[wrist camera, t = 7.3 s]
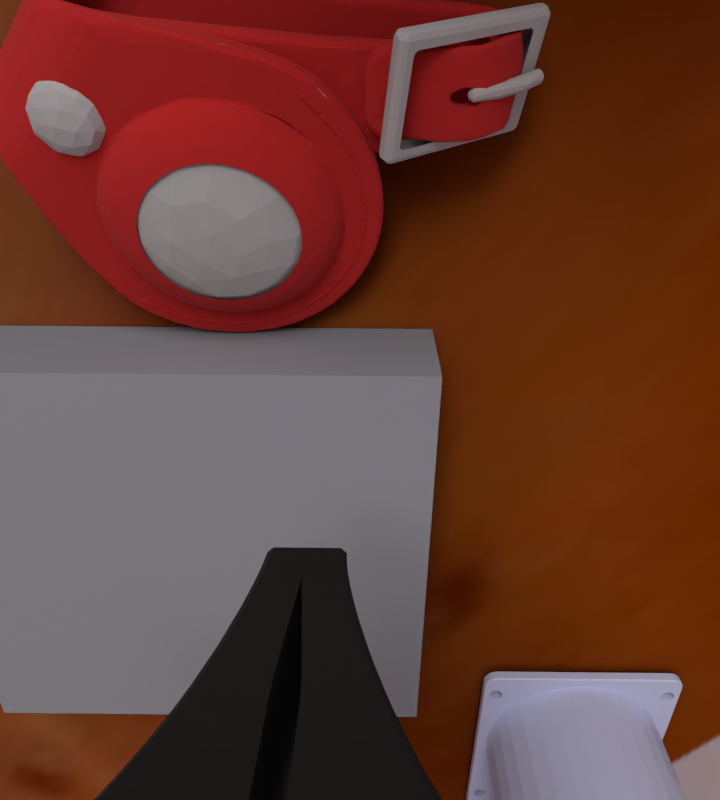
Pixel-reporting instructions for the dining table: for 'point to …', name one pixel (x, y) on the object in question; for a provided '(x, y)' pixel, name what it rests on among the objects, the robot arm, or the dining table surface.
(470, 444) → the dining table surface
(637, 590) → the dining table surface
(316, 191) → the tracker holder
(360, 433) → the block
